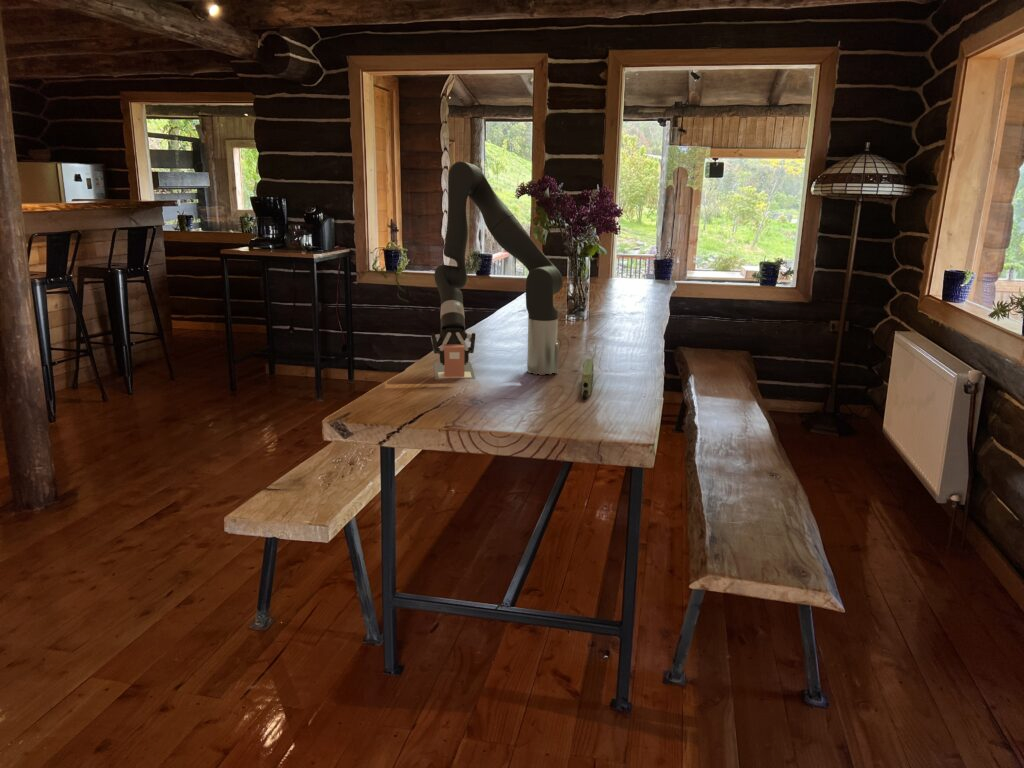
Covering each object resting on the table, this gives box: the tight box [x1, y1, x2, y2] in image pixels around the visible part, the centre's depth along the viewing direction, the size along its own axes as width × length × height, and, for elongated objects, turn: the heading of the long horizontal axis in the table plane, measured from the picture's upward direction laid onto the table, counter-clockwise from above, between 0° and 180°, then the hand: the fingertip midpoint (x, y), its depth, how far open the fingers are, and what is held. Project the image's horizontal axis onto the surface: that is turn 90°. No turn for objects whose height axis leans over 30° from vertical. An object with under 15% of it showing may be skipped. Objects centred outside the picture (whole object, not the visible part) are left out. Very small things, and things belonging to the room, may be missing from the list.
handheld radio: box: [581, 358, 594, 400], centre depth 212 cm, size 7×3×25 cm
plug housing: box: [444, 344, 465, 377], centre depth 222 cm, size 6×5×9 cm
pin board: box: [433, 361, 476, 381], centre depth 228 cm, size 12×22×4 cm, turn 7°
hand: (454, 363), depth 220 cm, fingers closed on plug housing, 6 cm apart
